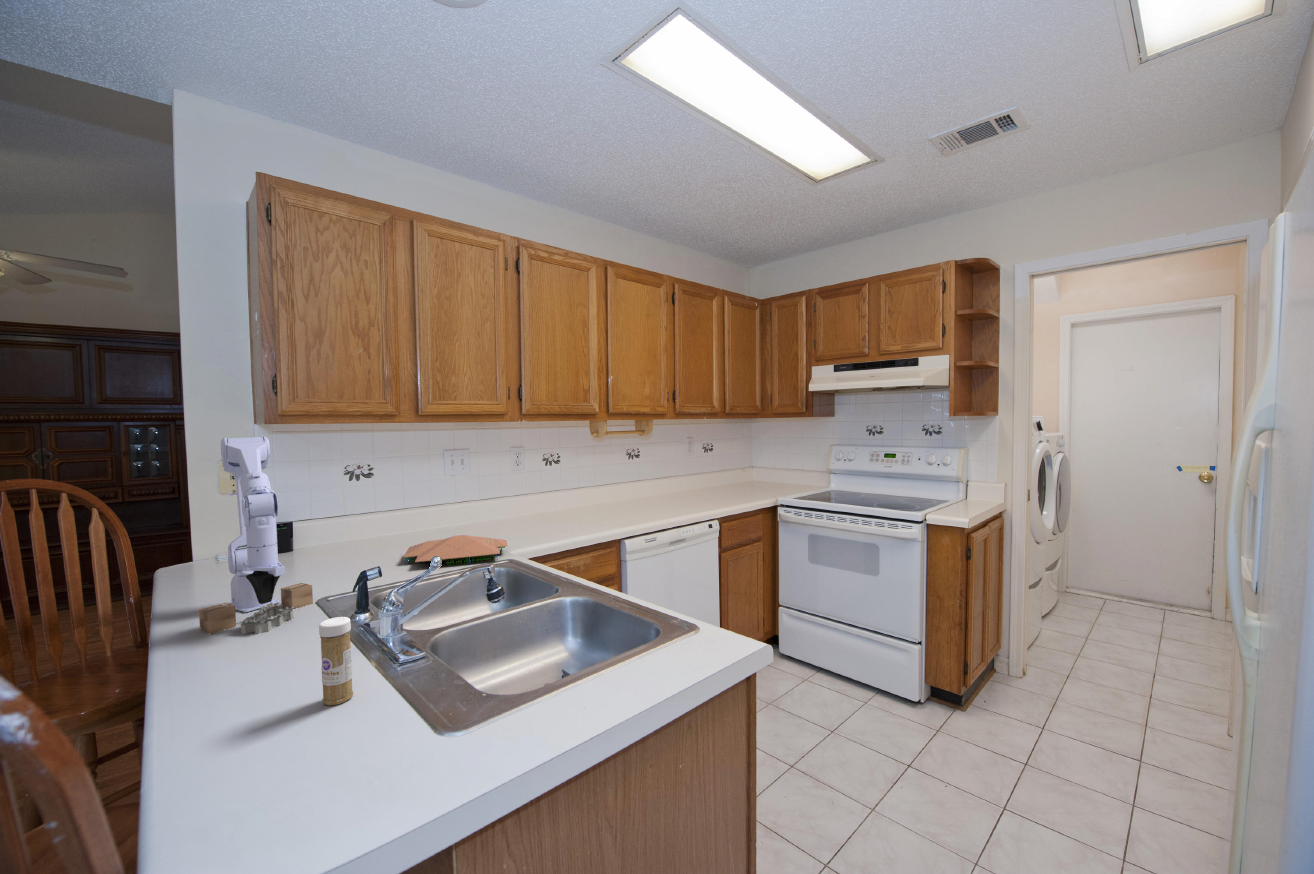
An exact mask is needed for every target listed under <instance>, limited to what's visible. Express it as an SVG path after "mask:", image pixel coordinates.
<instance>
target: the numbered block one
mask: <svg viewBox="0 0 1314 874" xmlns="http://www.w3.org/2000/svg"><path fill="white" fill-rule="evenodd" d="M313 598H314V596H313V585H312V584H309V583H303V582H299V583H295V584H292V585H287V586H285V587H281V588H280V601H281V602H280V603H281V608H283V609H285V607H288V608H291V607H296V608H297V609H300V608H303V606H304V607H306V605H307V606H310V605H313V604H314V599H313ZM296 608H295V609H294V608H293V609H294V610H296ZM293 609H292V610H293ZM294 610H293V611H294Z"/></svg>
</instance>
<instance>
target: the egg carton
mask: <svg viewBox="0 0 1314 874" xmlns="http://www.w3.org/2000/svg"><path fill="white" fill-rule="evenodd" d="M293 608H294V610H296V609H295V608H296V607H291V608H288V607H285V608H284V609H282V606H281V605H279V604H272V602H271V603H270V604H266V605H265V606H263V607H262V608H260V609H259V610H258V611H256V612H254V613H253V614H252V615H250V616H248V617H246V618H244V619H243V620H241V621H239V622H236V625H239V626H240V631H241V632H240V633H242V634H241V635H245V634H244V633H246V634H248V633H249V634H250V633H255V635H260V634H263V633H269V632H271V631H272V628H275V627H274V626H276V627H280V626H283V625H284V623H285V622H288V621H287V620H291V621H293V620H294V619H295V616H294V610H292V609H293ZM292 619H293V620H292ZM284 621H285V622H284ZM282 624H283V625H282ZM270 630H271V631H270ZM256 633H257V634H256ZM259 633H260V634H259Z"/></svg>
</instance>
